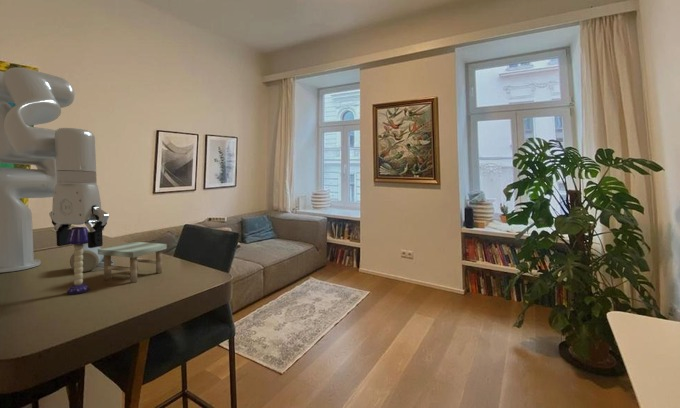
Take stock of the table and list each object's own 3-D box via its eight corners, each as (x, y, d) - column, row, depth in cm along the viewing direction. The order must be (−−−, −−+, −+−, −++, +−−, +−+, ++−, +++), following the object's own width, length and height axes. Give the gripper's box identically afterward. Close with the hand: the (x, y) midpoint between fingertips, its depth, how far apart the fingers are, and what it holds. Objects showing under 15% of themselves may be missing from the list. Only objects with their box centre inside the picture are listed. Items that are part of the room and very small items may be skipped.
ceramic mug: (68, 274, 89) (68, 249, 88) (74, 267, 95) (74, 244, 95) (112, 270, 94) (112, 246, 94) (115, 264, 101) (115, 242, 101)
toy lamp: (77, 288, 78) (76, 225, 77) (96, 288, 78) (95, 226, 77) (62, 294, 73) (60, 228, 72) (82, 294, 74) (80, 229, 73)
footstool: (98, 280, 84) (97, 249, 84) (135, 268, 96) (134, 241, 96) (133, 284, 82) (133, 252, 82) (166, 271, 94) (166, 244, 93)
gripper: (32, 178, 72) (35, 247, 73) (89, 178, 68) (92, 250, 69) (66, 179, 79) (69, 241, 80) (119, 179, 76) (121, 244, 77)
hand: (79, 246), depth 75 cm, fingers open, 9 cm apart
